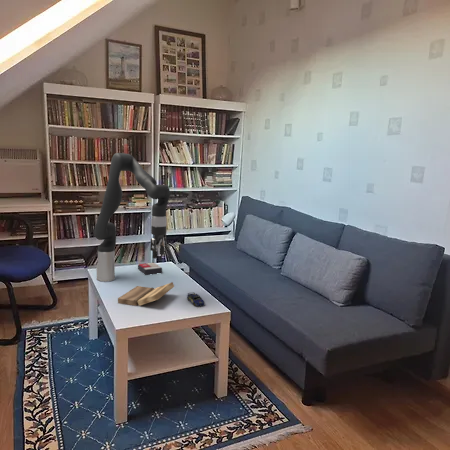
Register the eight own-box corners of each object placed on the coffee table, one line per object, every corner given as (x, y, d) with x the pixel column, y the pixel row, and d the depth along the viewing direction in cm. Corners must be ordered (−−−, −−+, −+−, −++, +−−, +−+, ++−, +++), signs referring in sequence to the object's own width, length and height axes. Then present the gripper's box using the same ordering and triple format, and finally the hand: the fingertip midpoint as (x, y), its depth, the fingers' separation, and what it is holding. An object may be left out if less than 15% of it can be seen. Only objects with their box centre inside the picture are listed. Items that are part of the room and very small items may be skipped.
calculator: (154, 261, 260) (162, 266, 247) (154, 268, 260) (162, 273, 247) (137, 263, 254) (145, 268, 241) (137, 270, 255) (145, 275, 242)
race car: (209, 307, 197) (209, 298, 196) (198, 310, 193) (198, 301, 193) (194, 297, 209) (194, 289, 209) (183, 300, 206) (183, 291, 205)
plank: (139, 305, 193) (137, 300, 193) (156, 292, 212) (154, 288, 212) (158, 299, 190) (156, 294, 190) (174, 286, 209) (172, 282, 209)
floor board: (117, 303, 196) (117, 297, 196) (137, 290, 215) (137, 285, 215) (136, 306, 194) (136, 300, 193) (154, 292, 213) (154, 287, 212)
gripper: (157, 222, 206) (157, 252, 209) (145, 226, 193) (145, 259, 196) (171, 223, 204) (170, 253, 207) (160, 227, 191) (159, 260, 194)
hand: (158, 256), depth 201 cm, fingers open, 8 cm apart
